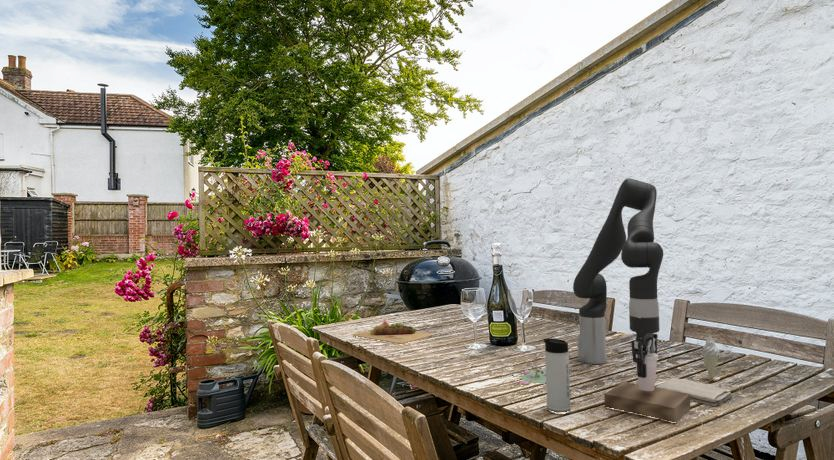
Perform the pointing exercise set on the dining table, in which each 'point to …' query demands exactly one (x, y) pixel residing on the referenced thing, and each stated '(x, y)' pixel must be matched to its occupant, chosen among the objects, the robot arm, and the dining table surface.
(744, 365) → the dining table surface
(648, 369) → the smoothie
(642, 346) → the robot arm
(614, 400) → the walnut base
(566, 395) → the travel mug
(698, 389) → the washcloth
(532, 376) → the plant
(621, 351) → the dining table surface
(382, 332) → the cutting board
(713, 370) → the ice cream cone
